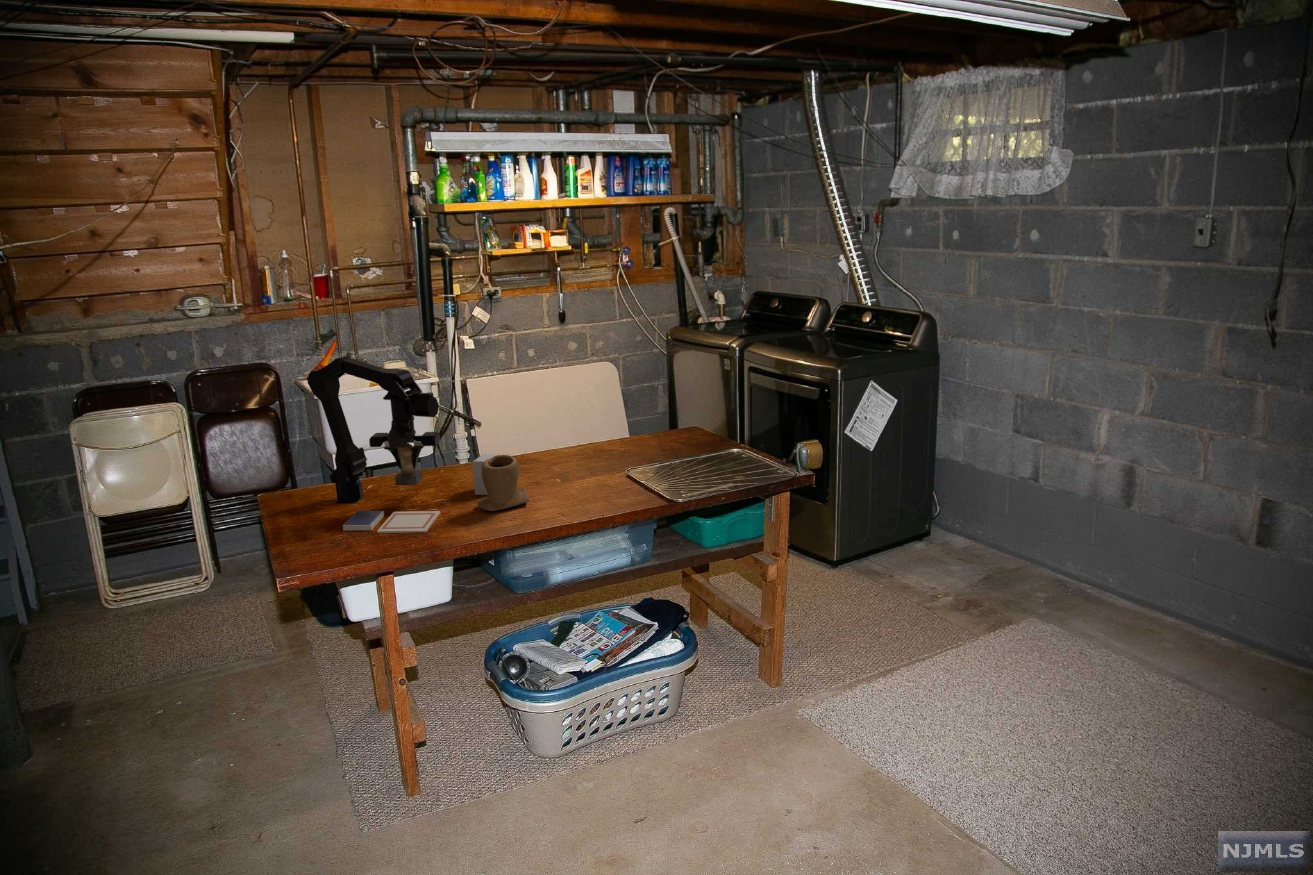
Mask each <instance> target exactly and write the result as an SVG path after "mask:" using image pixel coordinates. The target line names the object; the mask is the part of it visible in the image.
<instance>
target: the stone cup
mask: <svg viewBox="0 0 1313 875" xmlns="http://www.w3.org/2000/svg"><path fill="white" fill-rule="evenodd" d="M496 455H497V456H494V457H492V458H490V459H487V460H486V461H485V462H484V463H483V465H482V480H483V483H484V485H485V488H486V490H487V494H488V495H487V496H485V497H482V498H480V499H478V500H477V505H478V507H480V509H483V510H485V511H489V512H495V511H500V510H505V509H508V508H511V507H516V506H520V505H523V504H527V503H529V502H530V500H531V499H530V497H529V495H528V493H527V489H526V488H525V487H521V488H517V486H518V482H519V475H520V467H519V462H518V460H517V459H516V458H515V457H514V456H512V455H509V454H496Z"/></svg>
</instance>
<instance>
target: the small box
mask: <svg viewBox="0 0 1313 875" xmlns="http://www.w3.org/2000/svg"><path fill="white" fill-rule="evenodd" d="M497 455H498V454H495V453H494V454H491V453H490V454H489V453H488V454H487V453H482V454H481V455H480V456H478V457H477V458H475V459H474V460H473V461H472V470H473V471H472V473H473V484H474V494H475V495H477V496H480V495H481V496H488V494H487V490H486V488H485V485H484V483H483V480H482V465H483V463H484V462H485V461H486V460H487V459H490V458H492V457H494V456H497Z"/></svg>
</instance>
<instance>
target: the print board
mask: <svg viewBox="0 0 1313 875" xmlns="http://www.w3.org/2000/svg"><path fill="white" fill-rule="evenodd" d="M440 513H441V511H440V510H434V511H433V510H432V511H431V510H430V511H429V510H428V511H427V510H421V511H415V510H414V511H411V510H410V511H393V512H392V513H391V515H390V516H389V517H388V518H387V519H386V520H385V521H384V523H382V525H381V526H380V527H379V528H378V529H377V531H376V533H378V534H387V533H389V534H390V533H391V534H394V533H397V534H398V533H401V534H403V533H427V532H428V530H429V529H430V527H431V526H432V525H433V523H434V522H435V521H436V519H437V518H438V517H439V515H440Z"/></svg>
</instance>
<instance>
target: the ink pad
mask: <svg viewBox="0 0 1313 875" xmlns="http://www.w3.org/2000/svg"><path fill="white" fill-rule="evenodd" d="M384 517H385V511H384V510H357V511H355V513H354V514H352V516H351V517H349V519H348V520H347V521H346V522H344V524H343V525H342V529H343V531H345V532H346V531H349V532H350V531H372V530H373V529H374V528H375V527H376V526H377V525H378V524H379V522H380V521H381V520H382V519H383V518H384Z"/></svg>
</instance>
